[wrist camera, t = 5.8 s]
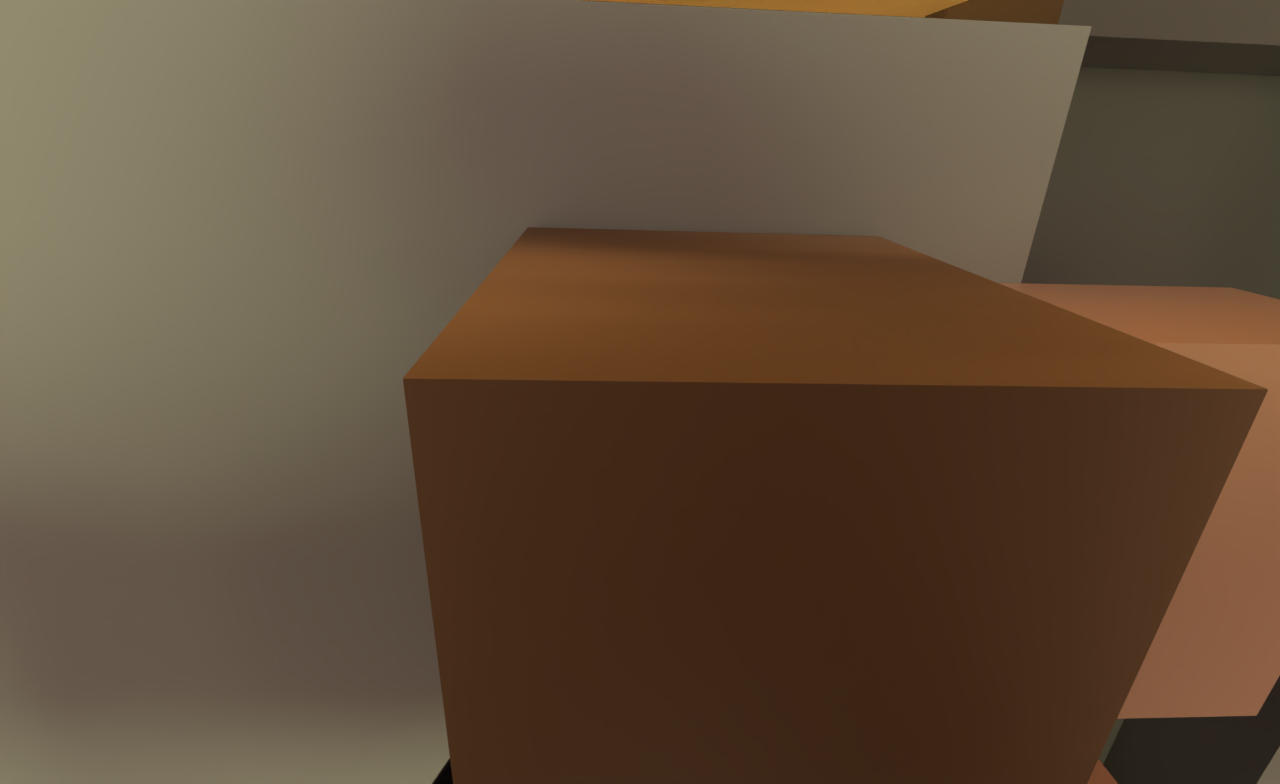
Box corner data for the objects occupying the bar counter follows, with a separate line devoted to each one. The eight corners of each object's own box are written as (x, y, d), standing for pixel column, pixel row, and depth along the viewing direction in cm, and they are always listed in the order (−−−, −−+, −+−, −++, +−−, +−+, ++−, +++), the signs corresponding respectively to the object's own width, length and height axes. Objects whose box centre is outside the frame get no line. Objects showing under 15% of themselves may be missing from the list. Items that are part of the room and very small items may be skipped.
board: (168, 790, 14) (34, 989, 11) (-125, 16, 8) (-612, -62, 5) (784, 779, 15) (833, 962, 11) (916, 64, 9) (1092, 26, 6)
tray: (781, 796, 15) (820, 948, 12) (926, 15, 9) (1073, -38, 6) (1085, 790, 15) (1190, 936, 13) (1432, 42, 9) (1794, 2, 6)
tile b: (815, 587, 8) (878, 723, 6) (869, 280, 6) (973, 339, 5) (1111, 584, 8) (1255, 715, 6) (1231, 288, 7) (1467, 347, 5)
